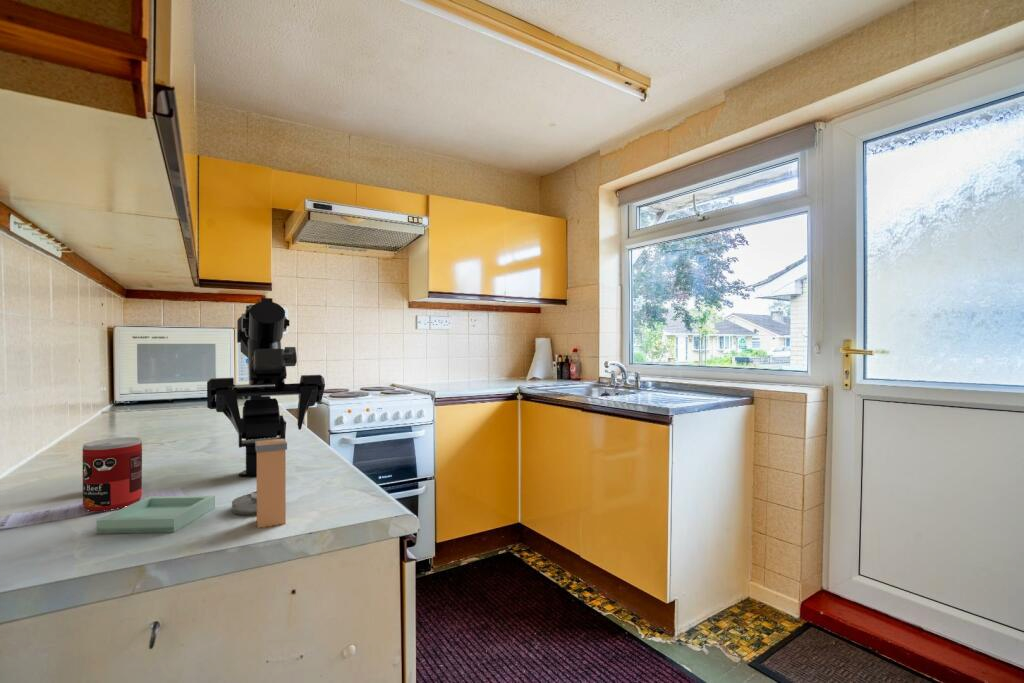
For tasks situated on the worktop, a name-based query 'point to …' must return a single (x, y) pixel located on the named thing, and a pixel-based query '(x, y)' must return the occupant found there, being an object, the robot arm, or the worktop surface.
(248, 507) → the metal lid
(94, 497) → the canned food
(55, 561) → the worktop surface
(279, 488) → the grey-capped orange pillar
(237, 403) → the robot arm
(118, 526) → the tray
